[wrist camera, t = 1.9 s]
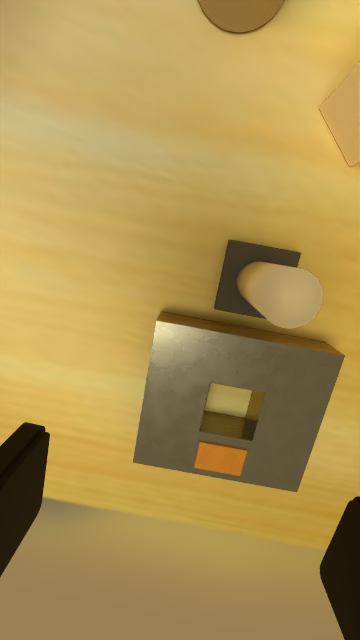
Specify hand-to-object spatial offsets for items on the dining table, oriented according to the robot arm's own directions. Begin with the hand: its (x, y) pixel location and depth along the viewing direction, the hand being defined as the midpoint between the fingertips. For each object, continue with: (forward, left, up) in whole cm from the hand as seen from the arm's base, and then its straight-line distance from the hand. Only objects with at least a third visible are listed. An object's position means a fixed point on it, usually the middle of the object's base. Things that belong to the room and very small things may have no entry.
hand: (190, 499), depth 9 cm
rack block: (+8, +6, -22) cm, 24 cm away
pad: (-5, +6, -22) cm, 24 cm away
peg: (-5, +6, -21) cm, 23 cm away
